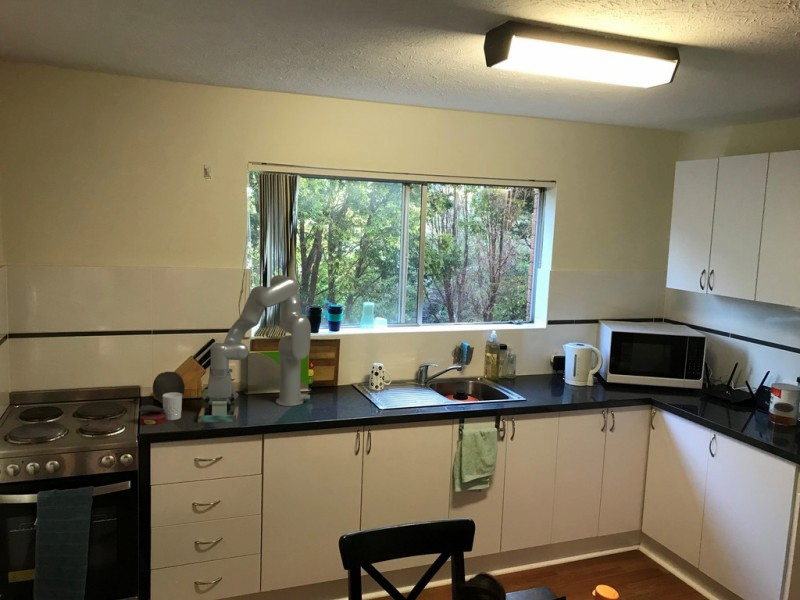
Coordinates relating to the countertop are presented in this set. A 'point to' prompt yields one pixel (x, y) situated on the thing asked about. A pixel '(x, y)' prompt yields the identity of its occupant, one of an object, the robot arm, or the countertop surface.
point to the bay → (217, 417)
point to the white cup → (172, 405)
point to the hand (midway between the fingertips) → (220, 411)
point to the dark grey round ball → (167, 384)
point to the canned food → (152, 415)
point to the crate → (219, 407)
